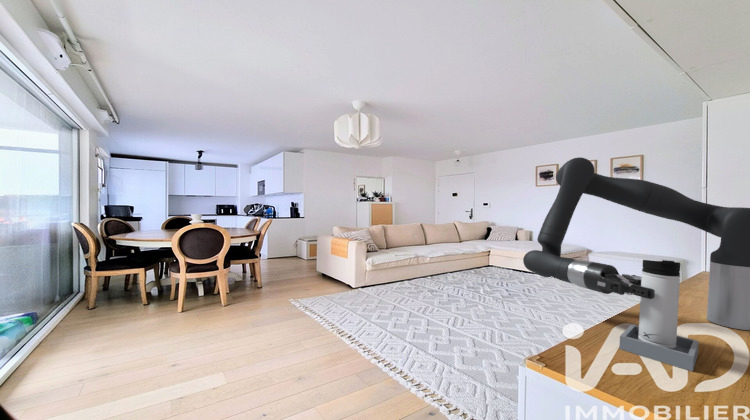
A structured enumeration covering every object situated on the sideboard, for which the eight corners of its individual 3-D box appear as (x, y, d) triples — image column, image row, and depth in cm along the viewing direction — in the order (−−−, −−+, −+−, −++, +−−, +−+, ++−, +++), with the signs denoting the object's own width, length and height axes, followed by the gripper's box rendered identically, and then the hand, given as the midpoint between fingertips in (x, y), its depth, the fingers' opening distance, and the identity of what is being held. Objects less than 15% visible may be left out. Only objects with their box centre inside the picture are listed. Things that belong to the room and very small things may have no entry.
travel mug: (646, 350, 67) (651, 259, 66) (633, 338, 73) (637, 255, 72) (683, 356, 65) (688, 262, 64) (666, 343, 71) (671, 257, 70)
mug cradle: (631, 335, 77) (631, 324, 77) (698, 354, 68) (698, 341, 68) (619, 348, 69) (620, 335, 69) (692, 371, 61) (693, 356, 60)
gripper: (573, 262, 80) (646, 278, 65) (610, 260, 85) (685, 274, 70) (572, 291, 81) (644, 312, 65) (609, 287, 85) (684, 307, 70)
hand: (665, 293), depth 68 cm, fingers open, 8 cm apart
